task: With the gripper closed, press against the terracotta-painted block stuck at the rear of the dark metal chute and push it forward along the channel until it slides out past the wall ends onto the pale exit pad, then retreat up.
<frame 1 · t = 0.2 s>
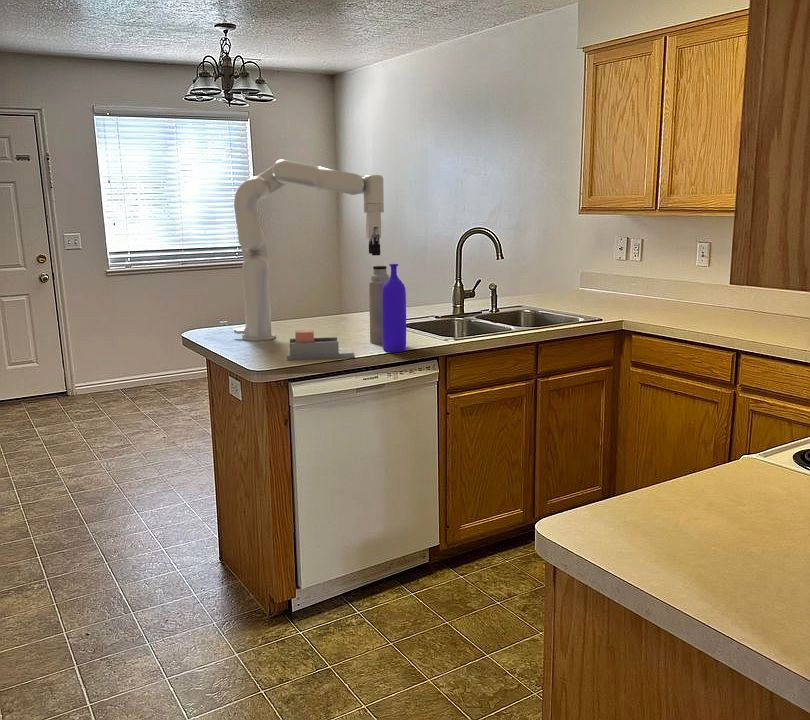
hand: (374, 254, 284), 31 cm above the worktop, fingers open, 9 cm apart
block: (304, 341, 250), point 5 cm above the worktop, slide at 0.0 cm
chute: (320, 355, 251), on the worktop
thermos bottle: (380, 342, 275), on the worktop
bottle: (394, 350, 260), on the worktop
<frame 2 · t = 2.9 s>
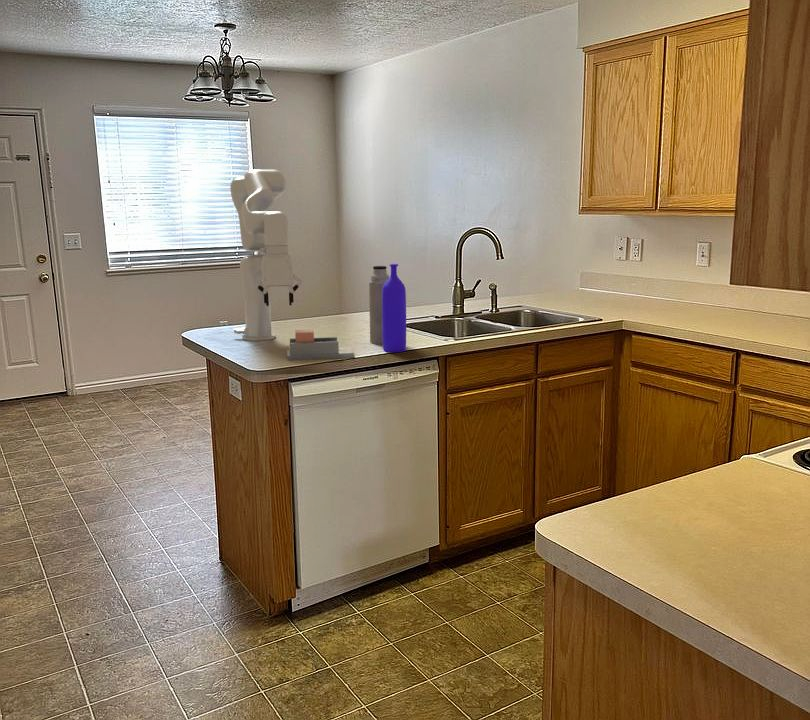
hand: (279, 304, 246), 18 cm above the worktop, fingers open, 6 cm apart
nothing on the worktop moved.
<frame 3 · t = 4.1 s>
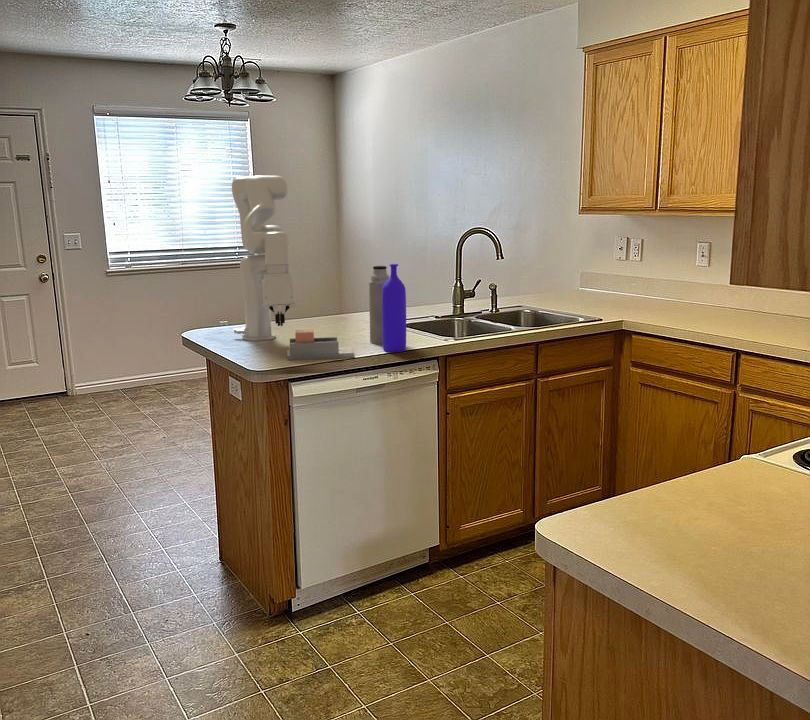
hand: (280, 325, 247), 11 cm above the worktop, fingers closed
nothing on the worktop moved.
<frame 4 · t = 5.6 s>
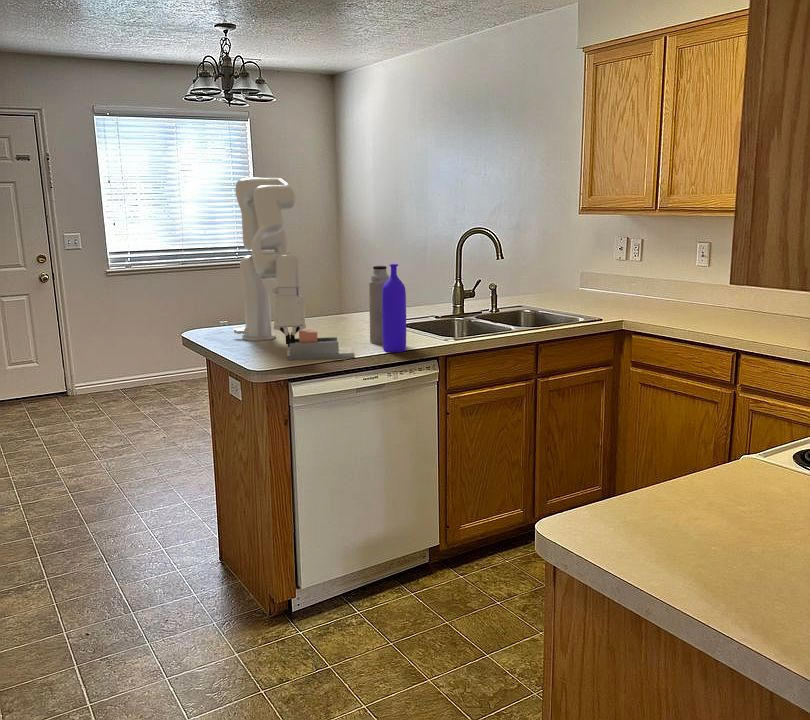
hand: (290, 346, 249), 4 cm above the worktop, fingers closed
block: (308, 341, 250), point 5 cm above the worktop, slide at 1.2 cm, touching gripper
everything else where it was.
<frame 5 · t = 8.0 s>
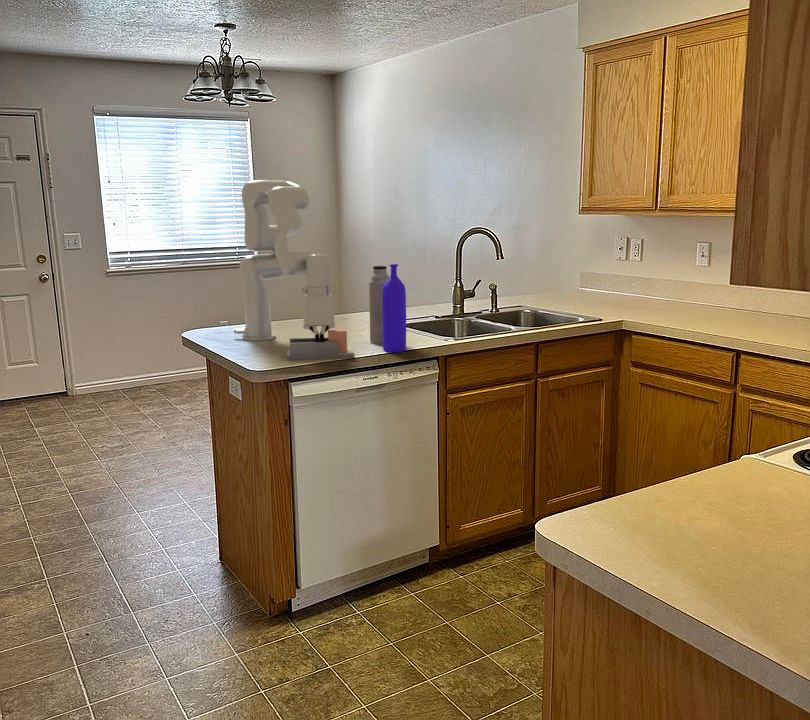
hand: (319, 345, 251), 4 cm above the worktop, fingers closed
block: (337, 340, 251), point 5 cm above the worktop, slide at 10.9 cm, touching gripper
everything else where it was.
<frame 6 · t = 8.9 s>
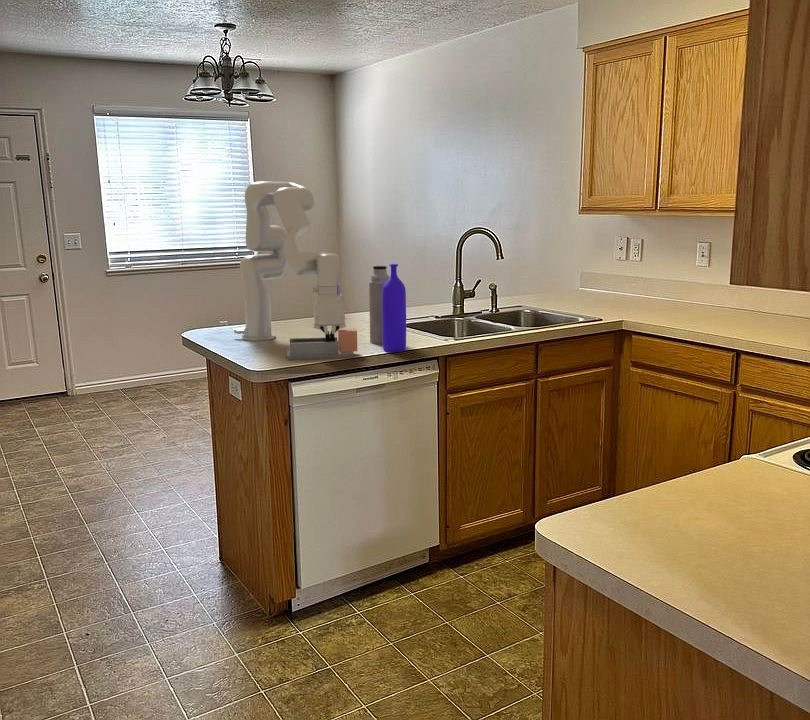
hand: (330, 345, 251), 4 cm above the worktop, fingers closed
block: (347, 339, 252), point 5 cm above the worktop, slide at 14.4 cm, touching gripper
everything else where it was.
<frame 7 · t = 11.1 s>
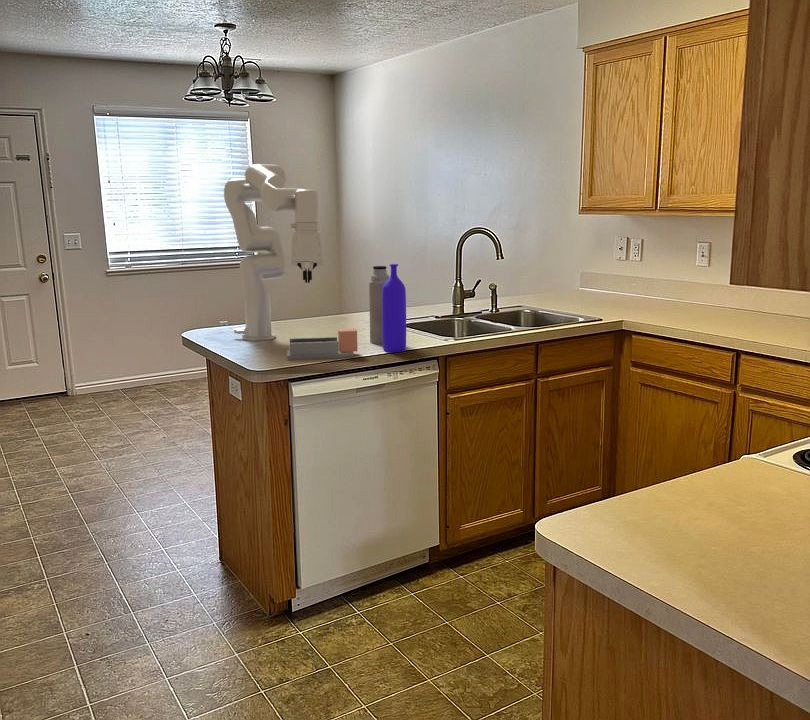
hand: (307, 282, 252), 24 cm above the worktop, fingers closed
block: (347, 339, 252), point 5 cm above the worktop, slide at 14.4 cm
everything else where it was.
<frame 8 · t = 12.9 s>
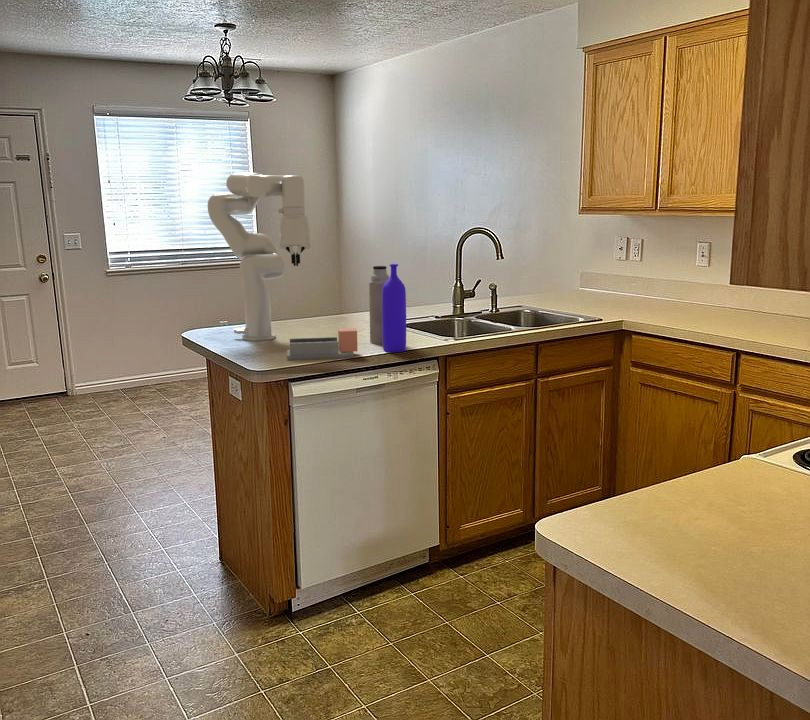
hand: (295, 265, 261), 29 cm above the worktop, fingers closed
nothing on the worktop moved.
at the end: block slide at 14.4 cm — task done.
